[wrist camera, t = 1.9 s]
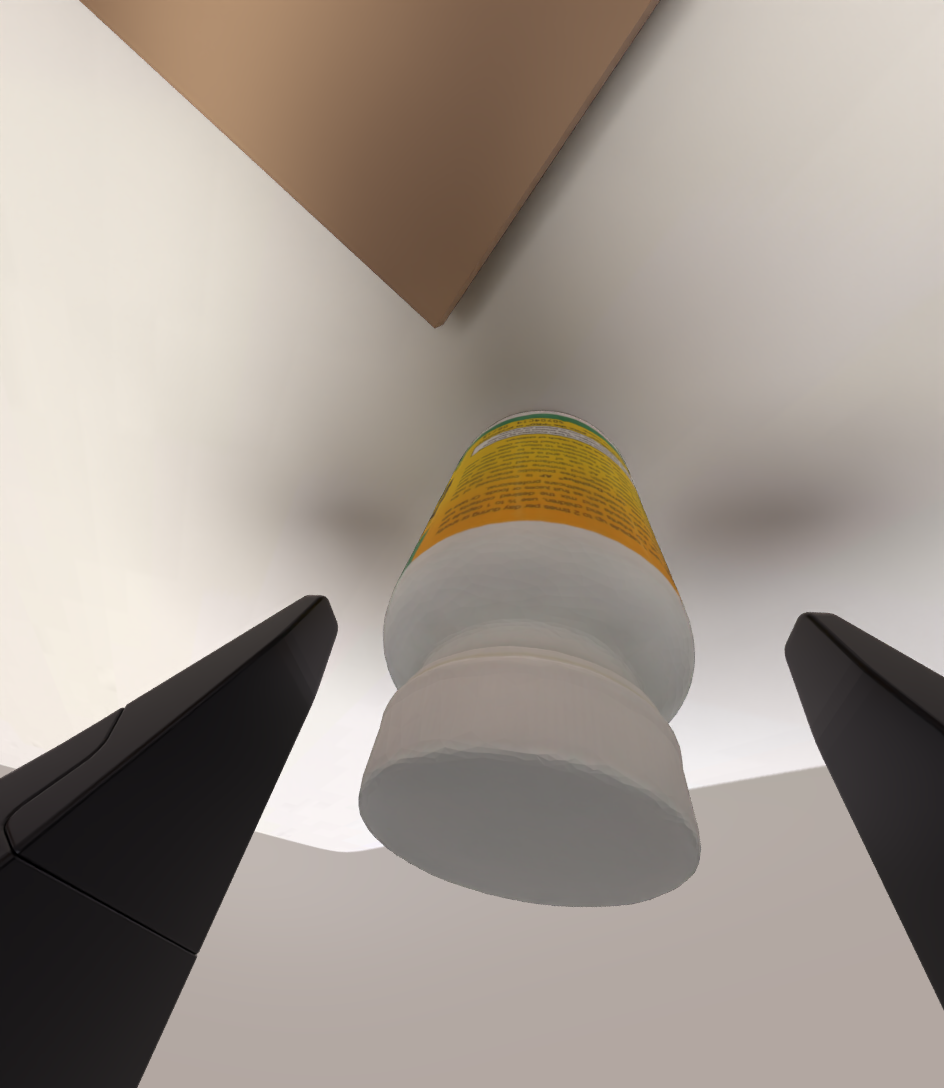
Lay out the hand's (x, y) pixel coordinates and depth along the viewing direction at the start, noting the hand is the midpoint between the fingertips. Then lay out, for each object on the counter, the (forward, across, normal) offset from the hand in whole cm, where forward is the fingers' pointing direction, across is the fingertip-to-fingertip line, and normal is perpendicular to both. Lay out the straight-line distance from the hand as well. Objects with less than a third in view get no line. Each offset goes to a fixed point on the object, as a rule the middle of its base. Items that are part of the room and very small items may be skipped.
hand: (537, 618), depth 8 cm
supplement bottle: (+6, 0, 0) cm, 6 cm away
